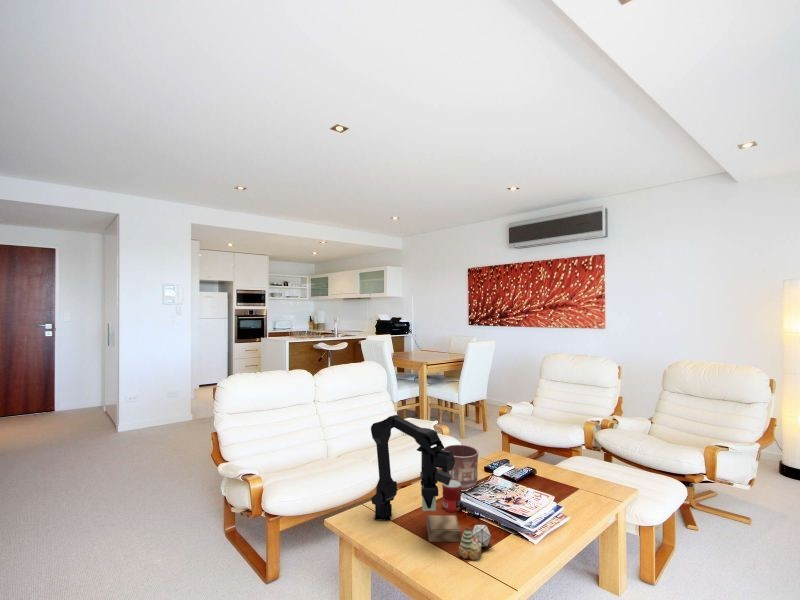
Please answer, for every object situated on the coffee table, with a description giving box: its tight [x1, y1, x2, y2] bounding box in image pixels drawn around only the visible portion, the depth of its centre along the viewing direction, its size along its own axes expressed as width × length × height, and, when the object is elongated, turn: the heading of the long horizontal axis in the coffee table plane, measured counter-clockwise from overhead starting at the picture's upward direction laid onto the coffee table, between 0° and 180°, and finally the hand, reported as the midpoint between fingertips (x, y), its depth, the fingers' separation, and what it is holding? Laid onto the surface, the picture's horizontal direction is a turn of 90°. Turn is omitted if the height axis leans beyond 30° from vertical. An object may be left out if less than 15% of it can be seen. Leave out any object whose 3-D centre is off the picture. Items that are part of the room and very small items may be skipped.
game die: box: [471, 522, 494, 549], centre depth 160 cm, size 9×8×10 cm
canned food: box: [442, 480, 462, 513], centre depth 190 cm, size 8×8×11 cm
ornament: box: [458, 526, 482, 561], centre depth 154 cm, size 8×6×10 cm
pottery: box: [442, 444, 479, 490], centre depth 212 cm, size 18×18×18 cm
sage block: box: [421, 495, 437, 512], centre depth 166 cm, size 5×5×5 cm
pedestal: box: [426, 514, 462, 543], centre depth 169 cm, size 12×12×4 cm
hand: (428, 505), depth 166 cm, fingers closed on sage block, 5 cm apart
